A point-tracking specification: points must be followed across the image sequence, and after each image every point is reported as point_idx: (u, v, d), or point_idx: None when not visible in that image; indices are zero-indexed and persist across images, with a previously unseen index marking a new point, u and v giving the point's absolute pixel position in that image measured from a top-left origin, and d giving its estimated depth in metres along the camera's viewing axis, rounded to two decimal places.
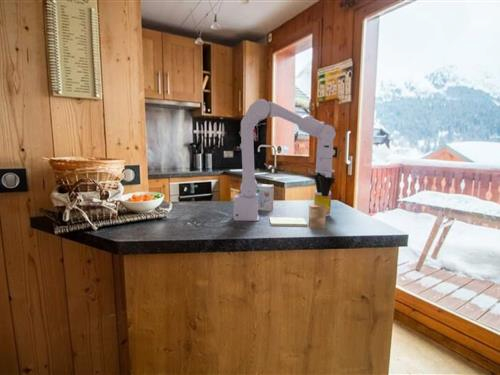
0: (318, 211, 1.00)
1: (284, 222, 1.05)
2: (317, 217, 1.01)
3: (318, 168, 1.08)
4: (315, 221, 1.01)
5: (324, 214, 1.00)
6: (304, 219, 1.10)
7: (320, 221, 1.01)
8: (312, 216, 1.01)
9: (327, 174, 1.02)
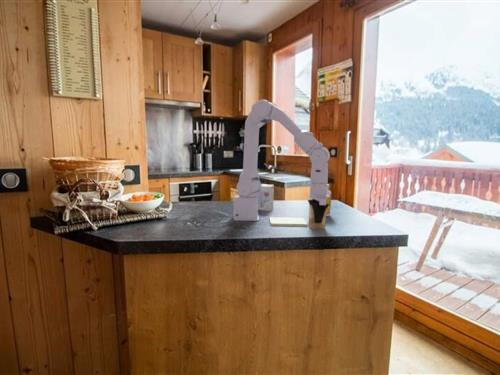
0: None
1: (284, 222, 1.05)
2: None
3: (312, 194, 1.00)
4: None
5: (324, 214, 1.00)
6: (304, 219, 1.10)
7: None
8: (312, 216, 1.01)
9: (321, 202, 0.94)
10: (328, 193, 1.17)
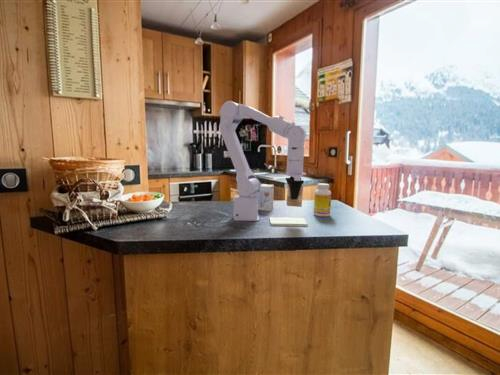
0: None
1: (284, 222, 1.05)
2: None
3: (288, 171, 1.03)
4: (292, 199, 1.04)
5: (301, 193, 1.04)
6: (304, 219, 1.10)
7: (297, 199, 1.04)
8: (289, 194, 1.04)
9: (296, 177, 0.98)
10: (328, 193, 1.17)
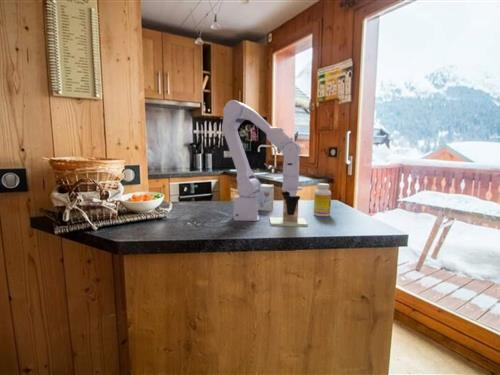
0: None
1: (284, 222, 1.05)
2: None
3: (284, 186, 1.04)
4: (288, 215, 1.06)
5: (297, 208, 1.05)
6: (304, 219, 1.10)
7: (293, 215, 1.06)
8: (285, 210, 1.05)
9: (291, 193, 0.99)
10: (328, 193, 1.17)
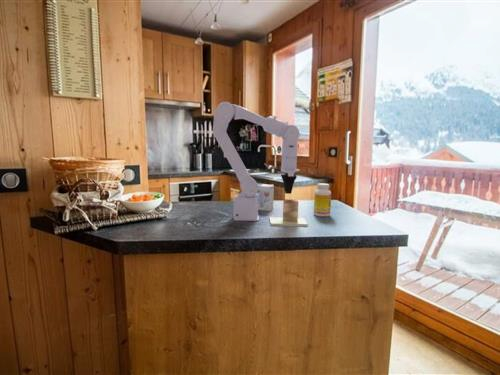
0: (291, 205, 1.05)
1: (284, 222, 1.05)
2: (290, 211, 1.06)
3: (283, 167, 1.10)
4: (288, 215, 1.06)
5: (297, 208, 1.05)
6: (304, 219, 1.10)
7: (293, 215, 1.06)
8: (285, 210, 1.05)
9: (290, 173, 1.05)
10: (328, 193, 1.17)
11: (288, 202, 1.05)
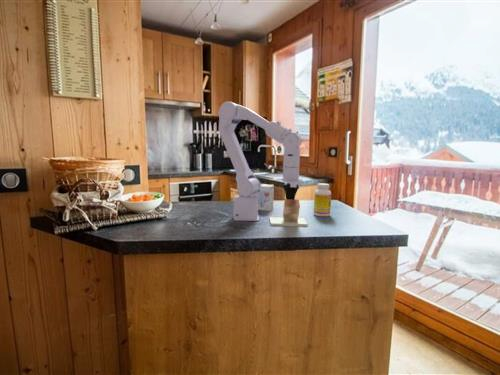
0: (292, 208, 1.03)
1: (284, 222, 1.05)
2: (290, 213, 1.04)
3: (284, 177, 1.04)
4: (288, 216, 1.05)
5: (297, 211, 1.03)
6: (304, 219, 1.10)
7: (293, 216, 1.05)
8: (286, 212, 1.04)
9: (292, 184, 0.98)
10: (328, 193, 1.17)
11: (289, 206, 1.02)
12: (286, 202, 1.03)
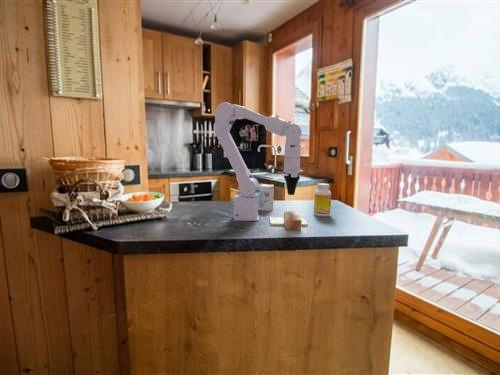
0: None
1: None
2: None
3: (285, 168, 1.06)
4: None
5: None
6: (304, 219, 1.10)
7: None
8: None
9: (293, 174, 1.01)
10: (328, 193, 1.17)
11: None
12: (287, 225, 0.98)
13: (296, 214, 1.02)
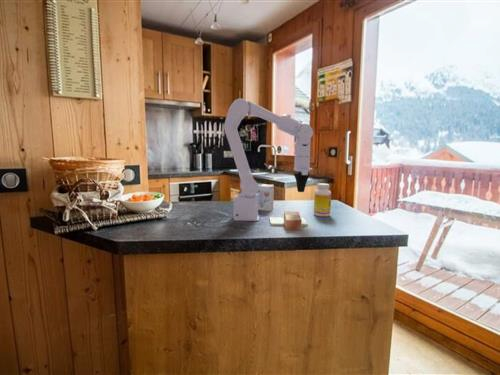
0: None
1: None
2: None
3: (296, 166, 1.10)
4: None
5: None
6: (304, 219, 1.10)
7: None
8: None
9: (303, 172, 1.05)
10: (328, 193, 1.17)
11: None
12: (287, 225, 0.98)
13: (296, 214, 1.02)
